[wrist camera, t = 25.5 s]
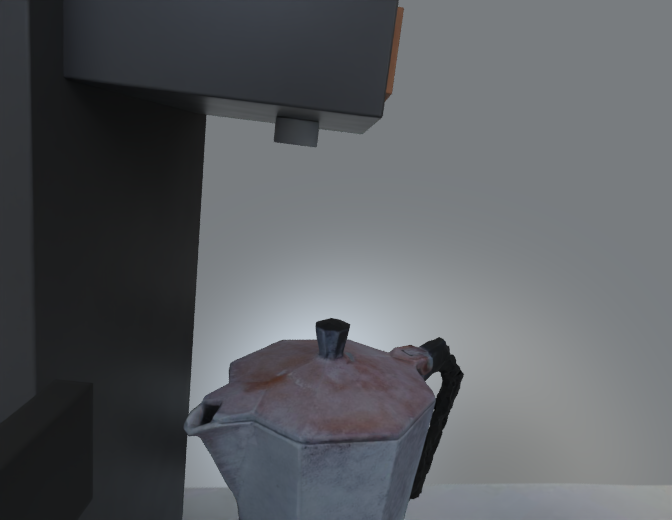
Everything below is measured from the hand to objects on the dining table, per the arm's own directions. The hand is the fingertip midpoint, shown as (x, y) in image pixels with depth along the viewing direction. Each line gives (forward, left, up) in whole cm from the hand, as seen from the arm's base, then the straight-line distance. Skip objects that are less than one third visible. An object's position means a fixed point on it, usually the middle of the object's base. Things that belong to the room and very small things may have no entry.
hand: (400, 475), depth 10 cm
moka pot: (0, -12, -21) cm, 24 cm away
